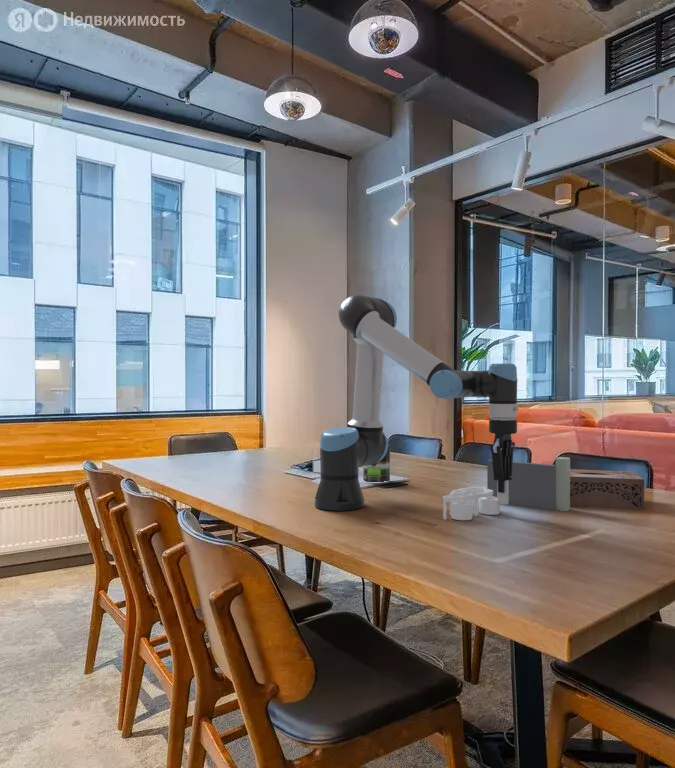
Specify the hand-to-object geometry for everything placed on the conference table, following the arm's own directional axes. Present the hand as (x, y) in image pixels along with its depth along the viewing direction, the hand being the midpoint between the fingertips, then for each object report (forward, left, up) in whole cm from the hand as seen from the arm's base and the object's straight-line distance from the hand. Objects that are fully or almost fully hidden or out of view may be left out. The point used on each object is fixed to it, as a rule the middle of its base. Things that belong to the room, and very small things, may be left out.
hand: (502, 503), depth 161 cm
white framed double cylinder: (-4, +8, -5) cm, 10 cm away
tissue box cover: (+34, -16, -5) cm, 38 cm away
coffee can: (+28, +59, -5) cm, 65 cm away
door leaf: (+15, 0, -4) cm, 16 cm away
